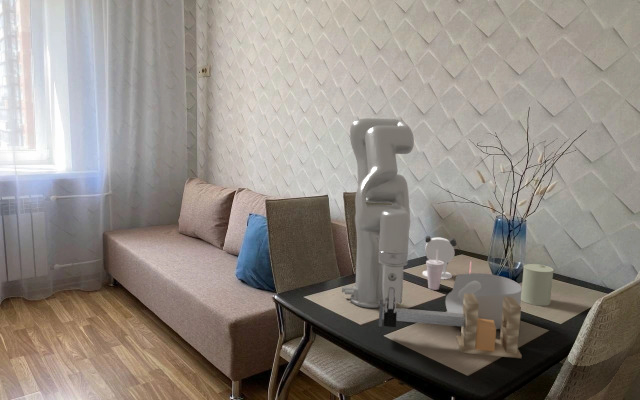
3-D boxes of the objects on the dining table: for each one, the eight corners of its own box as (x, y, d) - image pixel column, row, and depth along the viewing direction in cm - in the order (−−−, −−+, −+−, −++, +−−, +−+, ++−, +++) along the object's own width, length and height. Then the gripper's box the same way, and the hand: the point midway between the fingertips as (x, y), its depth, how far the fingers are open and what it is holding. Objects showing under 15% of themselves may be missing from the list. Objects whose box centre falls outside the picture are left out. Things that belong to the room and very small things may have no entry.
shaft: (378, 326, 116) (379, 308, 115) (379, 317, 122) (380, 299, 121) (467, 334, 113) (468, 315, 112) (463, 324, 118) (464, 306, 118)
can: (554, 300, 150) (557, 266, 148) (545, 308, 143) (549, 272, 141) (525, 293, 156) (528, 260, 154) (516, 300, 149) (519, 266, 148)
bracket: (460, 352, 112) (464, 303, 111) (456, 338, 120) (459, 292, 118) (521, 358, 110) (526, 308, 108) (512, 343, 118) (517, 296, 116)
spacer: (475, 348, 113) (477, 326, 112) (473, 339, 118) (475, 318, 117) (494, 351, 112) (496, 329, 111) (491, 341, 117) (493, 320, 116)
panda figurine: (452, 272, 179) (455, 235, 177) (454, 281, 168) (457, 242, 166) (422, 269, 182) (424, 233, 179) (422, 278, 171) (424, 240, 169)
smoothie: (444, 291, 157) (447, 252, 154) (426, 290, 157) (428, 252, 155) (440, 285, 163) (442, 248, 161) (422, 284, 163) (425, 247, 161)
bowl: (528, 338, 122) (532, 297, 120) (456, 333, 124) (459, 292, 122) (505, 310, 141) (509, 274, 140) (444, 306, 143) (446, 270, 142)
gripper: (408, 267, 107) (404, 338, 110) (406, 250, 123) (403, 313, 126) (377, 264, 109) (374, 335, 111) (379, 248, 124) (376, 310, 127)
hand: (389, 323), depth 119 cm, fingers closed on shaft, 2 cm apart
